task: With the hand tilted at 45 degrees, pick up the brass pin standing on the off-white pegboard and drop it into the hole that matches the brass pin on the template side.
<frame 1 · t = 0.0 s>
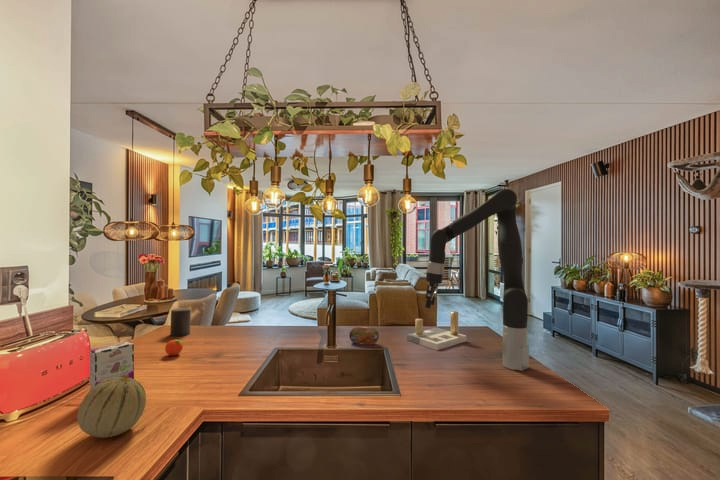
hand: (429, 306, 153), 22 cm above the countertop, tool pointing down, fingers open, 8 cm apart
pillar candle: (180, 334, 181), on the countertop
brass pin: (454, 334, 175), point 3 cm above the countertop, touching pegboard
tin: (364, 343, 168), on the countertop
cantaloupe: (113, 434, 88), on the countertop
red tomato: (175, 355, 148), on the countertop
candy bar box: (112, 395, 109), on the countertop
pegboard: (436, 340, 174), on the countertop
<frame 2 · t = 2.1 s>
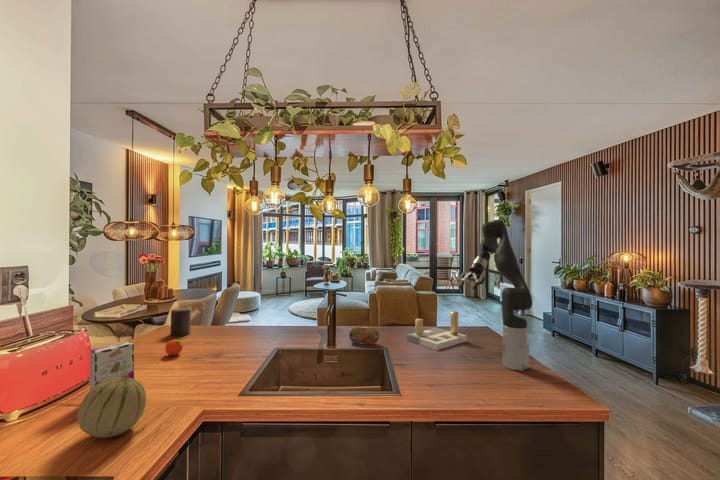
hand: (466, 287, 182), 27 cm above the countertop, tool tilted 45°, fingers open, 8 cm apart
nothing on the countertop moved.
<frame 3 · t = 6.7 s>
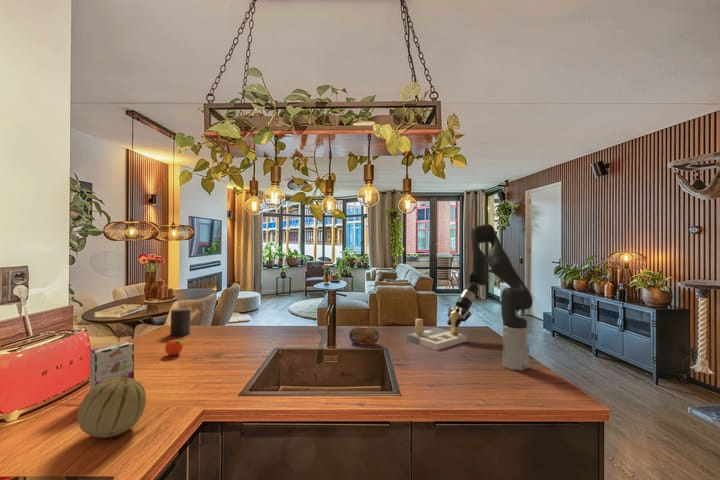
hand: (452, 325, 174), 8 cm above the countertop, tool tilted 45°, fingers closed on brass pin, 4 cm apart
brass pin: (454, 334, 175), point 3 cm above the countertop, touching gripper, pegboard
everything else where it was.
when the fingers open (7 cm above the countertop, at t = 12.2 s): brass pin drops 1 cm, resting in pegboard.
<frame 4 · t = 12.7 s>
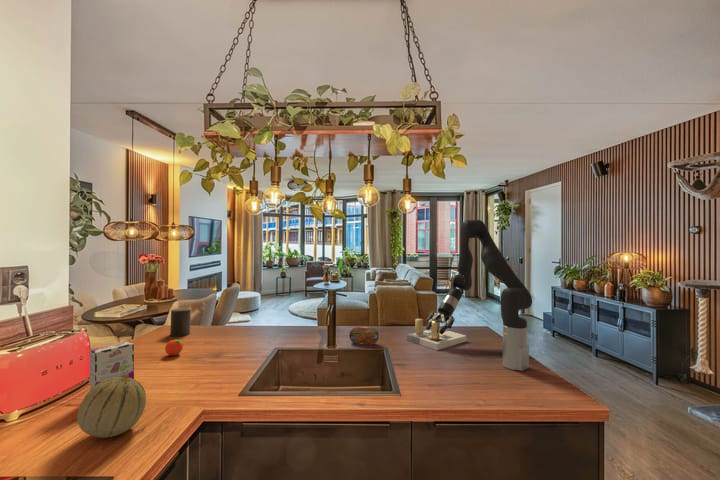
hand: (433, 331, 164), 7 cm above the countertop, tool tilted 45°, fingers open, 8 cm apart
brass pin: (435, 345, 165), resting in pegboard
everything else where it was.
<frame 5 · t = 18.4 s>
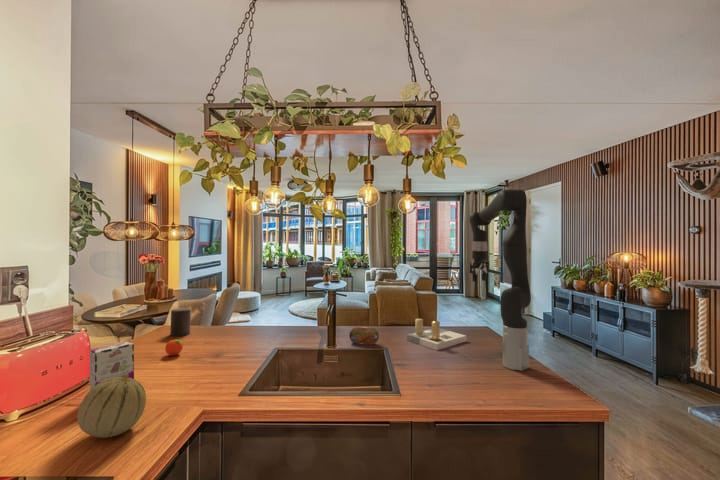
hand: (479, 281, 172), 32 cm above the countertop, tool pointing down, fingers open, 8 cm apart
nothing on the countertop moved.
at the end: brass pin 0.1 cm from the target spot on the pegboard, point 0.0 cm above the pegboard's base; brass pin tilted 0°; the gripper is holding nothing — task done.
